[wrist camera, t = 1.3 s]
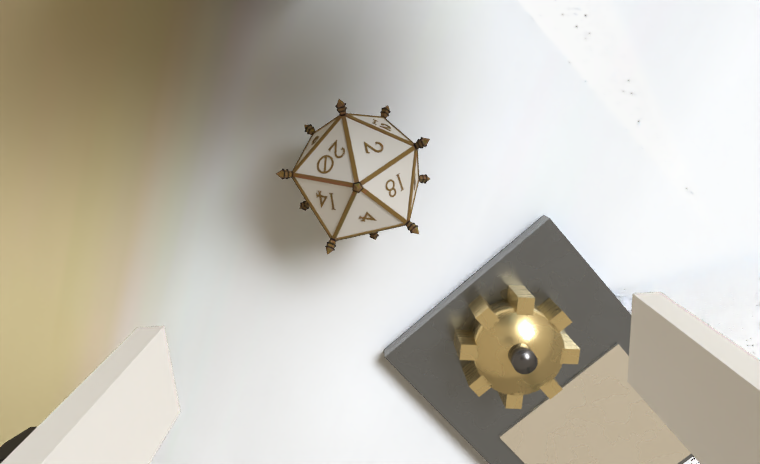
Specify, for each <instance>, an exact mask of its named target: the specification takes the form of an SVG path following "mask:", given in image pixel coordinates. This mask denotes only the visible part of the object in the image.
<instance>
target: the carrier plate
mask: <svg viewBox="0 0 760 464" xmlns="http://www.w3.org/2000/svg"><path fill="white" fill-rule="evenodd" d="M630 330H631V314H630V313H629V312H628V311H627V310H626V308H625V307H624V306H623V305H622V304H621V302H620V301H619V300H618V299H617V298H616V297H615V295H614V294H613V293H612V292H611V291H610V289H609V288H608V287H607V286H606V285H605V283H604V282H603V281H602V280H601V279H600V278H599V276H598V275H597V274H596V273H595V272H594V270H593V269H592V268H591V267H590V266H589V264H588V263H587V262H586V261H585V260H584V259H583V257H582V256H581V255H580V254H579V253H578V251H577V250H576V249H575V248H574V247H573V245H572V244H571V243H570V242H569V241H568V240H567V238H566V237H565V236H564V235H563V234H562V232H561V231H560V230H559V229H558V228H557V226H556V225H555V224H554V223H553V222H552V220H551V219H550V218H548V217H546V216H545V215H543V216H542V217H541V218H540V219H538V220H537V221H536V222H535V223H534V224H533V225H531V226H530V227H529V228H528V229H527V230H525V231H524V232H523V233H522V234H521V235H520V236H518V237H517V238H516V239H515V240H514V241H512V242H511V243H510V244H509V245H508V246H507V247H505V248H504V249H503V250H502V251H501V252H499V253H498V254H497V255H496V256H495V257H493V258H492V259H491V260H490V261H489V262H488V263H486V264H485V265H484V266H483V267H482V268H480V269H479V270H478V271H477V272H476V273H475V274H473V275H472V276H471V277H470V278H469V279H467V280H466V281H465V282H464V283H463V284H461V285H460V286H459V287H458V288H457V289H456V290H454V291H453V292H452V293H451V294H450V295H448V296H447V297H446V298H445V299H444V300H443V301H441V302H440V303H439V304H438V305H437V306H435V307H434V308H433V309H432V310H431V311H430V312H428V313H427V314H426V315H425V316H424V317H422V318H421V319H420V320H419V321H418V322H416V323H415V324H414V325H413V326H412V327H411V328H409V329H408V330H407V331H406V332H405V333H403V334H402V335H401V336H400V337H399V338H398V339H396V340H395V341H394V342H393V343H392V344H390V345H389V346H388V347H387V348H386V349H384V353H385V358H386V359H387V360H388V361H389V362H390V363H391V364H392V365H393V366H394V367H395V368H396V369H397V370H398V371H399V372H400V373H401V374H402V375H403V376H404V377H405V378H406V379H407V380H408V381H409V382H410V383H411V384H412V385H413V386H414V387H415V388H416V389H417V390H418V391H419V392H420V393H421V394H422V395H423V396H424V397H425V398H426V399H427V400H428V401H429V403H430V404H431V405H432V406H433V407H434V408H435V409H436V410H437V411H438V412H439V413H440V414H441V415H442V416H443V417H444V418H445V419H446V420H447V421H448V422H449V423H450V424H451V425H452V426H453V427H454V428H455V429H456V430H457V431H458V432H459V433H460V434H461V435H462V436H463V437H464V438H465V439H466V440H467V441H468V442H469V443H470V444H471V445H472V446H473V447H474V448H475V449H476V450H477V451H478V452H479V453H480V454H481V455H482V456H483V457H484V458H485V459H486V460H487V461H488V462H489V463H490V464H683V463H685V462H686V461H687V460H689V459H690V458H691V457H693V455H692V454H691V453H690V451H689V450H688V449H687V448H686V447H685V446H684V445H683V444H682V442H681V441H680V440H679V439H678V438H677V437H676V436H675V435H674V433H673V432H672V431H671V430H670V429H669V428H668V427H667V426H666V424H665V423H664V422H663V421H662V420H661V419H660V418H659V417H658V415H657V414H656V413H655V412H654V411H653V410H652V409H651V408H650V406H649V405H648V404H647V403H646V402H645V401H644V400H643V399H642V397H641V396H640V395H639V394H638V393H637V392H636V391H635V390H634V388H633V387H632V386H631V385H630V384H629V383H628V382H627V379H628V362H629V346H630Z"/></svg>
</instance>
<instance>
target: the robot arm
mask: <svg viewBox="0 0 760 464" xmlns="http://www.w3.org/2000/svg"><path fill="white" fill-rule="evenodd" d="M627 382H628V383H629V384H630V385H631V386H632V387H633V388H634V390H635V391H636V392H637V393H638V394H639V395H640V396H641V397H642V399H643V400H644V401H645V402H646V403H647V404H648V405H649V406H650V408H651V409H652V410H653V411H654V412H655V413H656V414H657V415H658V417H659V418H660V419H661V420H662V421H663V422H664V423H665V424H666V426H667V427H668V428H669V429H670V430H671V431H672V432H673V433H674V435H675V436H676V437H677V438H678V439H679V440H680V441H681V442H682V444H683V445H684V446H685V447H686V448H687V449H688V450H689V451H690V453H691V454H692V455H693V456H694V457H695V458H696V459H697V460H698V461H699V463H700V464H760V360H759V359H758V358H756V357H755V356H753V355H752V354H750V353H749V352H747V351H746V350H744V349H743V348H742V347H740V346H739V345H737V344H736V343H734V342H733V341H731V340H730V339H728V338H727V337H725V336H724V335H723V334H721V333H720V332H718V331H717V330H715V329H714V328H712V327H711V326H709V325H708V324H707V323H705V322H704V321H702V320H701V319H699V318H698V317H696V316H695V315H693V314H692V313H690V312H689V311H688V310H686V309H685V308H683V307H682V306H680V305H679V304H677V303H676V302H674V301H673V300H671V299H670V298H669V297H667V296H666V295H664V294H663V293H661V292H649V293H634V294H633V298H632V314H631V330H630V346H629V362H628V379H627ZM180 412H181V411H180V406H179V401H178V395H177V390H176V385H175V380H174V374H173V369H172V364H171V358H170V353H169V348H168V342H167V337H166V332H165V326H153V327H138V328H136V329H135V330H134V331H133V332H132V333H131V334H130V335H129V336H128V337H127V338H126V339H125V340H124V341H123V342H122V343H121V344H120V345H119V346H118V347H117V348H116V349H115V350H114V351H113V352H112V353H111V354H110V355H109V356H108V357H107V358H106V359H105V360H104V361H103V362H102V363H101V364H100V365H99V366H98V367H97V368H96V369H95V370H94V371H93V372H92V373H91V374H90V375H89V376H88V377H87V378H86V379H85V380H84V381H83V382H82V383H81V384H80V385H79V386H78V387H77V388H76V389H75V390H74V391H73V392H72V393H71V394H70V395H69V396H68V397H67V398H66V399H65V400H64V401H63V402H62V403H61V404H60V405H59V406H58V407H57V408H56V409H55V410H54V411H53V412H52V413H51V414H50V415H49V416H48V417H47V418H46V419H45V420H44V421H43V422H42V423H41V424H40V425H39V426H38V427H30V428H28V429H27V430H25V431H23V432H22V433H20V434H19V435H17V436H15V437H14V438H12V439H11V440H9V441H7V442H6V443H4V444H3V445H2V446H1V447H0V464H150V462H151V460H152V459H153V457H154V455H155V454H156V452H157V450H158V449H159V447H160V445H161V444H162V442H163V440H164V439H165V437H166V435H167V434H168V432H169V430H170V429H171V427H172V425H173V424H174V422H175V420H176V419H177V417H178V415H179V414H180Z"/></svg>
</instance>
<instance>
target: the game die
mask: <svg viewBox="0 0 760 464" xmlns="http://www.w3.org/2000/svg"><path fill="white" fill-rule="evenodd" d="M345 105H346V103H344V102H342V101H341V100H340V99H339V100H338V103H337V105H336V107H337V111H338V112H339V113H340V115H339V116H337V117H336V118H334V119H333V120H332V121H330V122H329V123H327V124H326V125H324V126H323V127H321V128H320V129H318V130H317V131H315V129H314V127H312V125H311V124H310V125H305V132H307V134H311V135H312V136H311V138H310V139H309V141H308V143H307V145H306V147H305V149H304V150H303V152H302V154H301V156H300V158H299V160H298V161H297V163H296V165H295V167H294V169H293V171H289V170H288V169H286V170H284V169H282V170H281V171H280V172H278V173H277V175H278V176H279V177H281V178H282V179H284V178H286V179H288V178H290V177H291V178H292V179H293V180H294V182H295V183H296V185H297V187H298V188H299V190H300V191H301V193H302V195H303V196H304V198H305V200H306V201H304V202H302V203H300V204H301V205H300V208H299V209H303V210H305V211H306V209H309V206H310V207H311V209H312V211H313V212H314V214H315V215H316V217H317V218H318V220H319V221H320V223H321V225H322V226H323V228H324V229H325V231H326V232H327V234H328V235H329V237H330V241H329V242H327V246H325V247H326V250H327V254H329V253H330V252H332V251H333V250H335V249H334V248H335V247H336V245H335V242H336V241H338V240H342V239H347V238H351V237H356V236H360V235H365V234H369V235H370V238H373V239H374V240H376V238H377V236H379V235H378V234H377V233H378V231H383V230H387V229H392V228H396V227H401V226H405V225H406V226H407V228H408V230H410V232H411V233H416V234H419V232H418V225H417V226H416V225H415V223H412V222H410V217H411V213H412V209H413V204H414V200H415V196H416V191H417V187H418V183H419V182H421V183H425V184H426V182H427V181H428V180H430V178H429V177H428V176H427V175H420V176H419V165H418V148H423V147H426V146H427V143H428V141H429V140H430V139H427V138H422V137H421V139H418V140H417V142H416V143H413V142H412V141H411V140H410V139H409V138H407V137H406V136H405V135H404V134H403V133H402V132H401V131H399V130H398V129H397V128H396V127H395V126H394V125H392V124H391V123H390V122H389V121H388V120H387V119H386V117H387V116H389V113H390V111H389V107H388V106H386V107H384V108H382V111H381V116H370V115H359V114H348V113H346V109H347V107H345Z"/></svg>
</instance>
